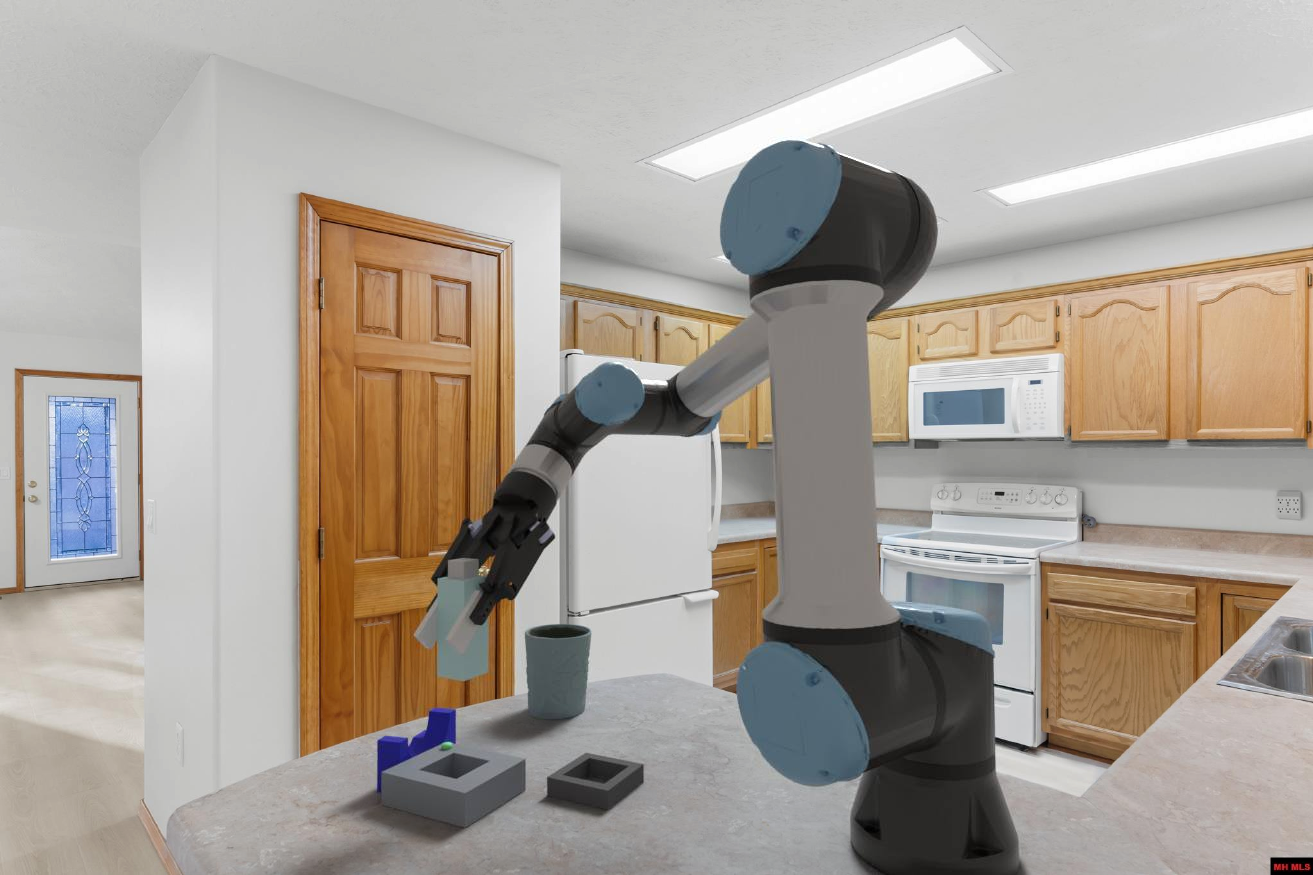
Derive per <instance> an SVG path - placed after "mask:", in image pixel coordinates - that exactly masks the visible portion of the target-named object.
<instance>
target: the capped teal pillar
mask: <svg viewBox="0 0 1313 875" xmlns="http://www.w3.org/2000/svg"><path fill="white" fill-rule="evenodd" d="M479 571H480V569H479V559H470V558H460V559H454V560H448V577H443V578H438V587H437V592H438V635H437V641H436V642H437V646H436V649H437V651H436V652H437V654H436V655H437V659H436V660H437V664H436V671H437V672H436V673H437V674H436V675H437V676H436V677H438V678H445V679H450V680H453V681H454V680H455V681H461V682H466V681H468V680H471V679H474V678H476V677H479V676H482V675H484V674H487V673H489V670H490V669H489V645H490V644H489V643H490V642H489V640H490V639H489V638H490V637H489V628H490V627H489V620H490V618H489V616H490V615H489V616H488V618H487V620H486V622H485V623H484V624H483V625H482V626H481V625H479V627H478V629H477V630H476V632H475V634H474V636H473V637H472V639H471V641H470V643H469V644H468V646H467V648H466V650H465V651H464V653H463V654H458V653H457V652H456V651H455V650H454V649H453V648H452V647H451V646H450V645H449V644H448V642H447V641H446V640H445V639H446V637H447V636H448V634H449V632H450V631H451V629H452V627H453V625H454V624H455V622H456V620H457V619H458V617H459V615H460V614H461V612H462V610H463V609H464V607H465V606H466V604H467V602H468V601H469V599H470V597H471V596H472V594H473V592H474V591H475V590H480V591H481V593H482V594H483V592H484V591H483V590H482V589H481V587H480V586H479V583H485V580H486V578H487V575H480V574H479ZM481 585H482V584H481Z"/></svg>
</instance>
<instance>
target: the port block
mask: <svg viewBox="0 0 1313 875" xmlns="http://www.w3.org/2000/svg"><path fill="white" fill-rule="evenodd" d="M526 764H527V763H526V758H524V757H519V756H514V755H509V754H504V753H499V752H495V751H491V750H490V751H489V750H485V749H481V748H476V747H471V746H467V745H462V744H457V743H456V744H454V743H451V742H445V743H442V744H441V745H439V746H436V747H434V748H432V749H430V750H428V751H426V752H424V753H421V754H419V755H417V756H415V757H413V758H411V759H408V760H406V761H404V762H402V763H400V764H398V765H396V766H393V767H391V768H389V769H387V770H385V771H383V772H381V792H380V796H381V799H380V800H381V801H380V802H381V806H385V807H390V808H393V809H397V810H400V811H403V812H407V813H410V814H413V815H417V816H421V817H425V818H428V819H433V820H436V821H439V822H443V823H447V824H450V825H453V826H457V827H459V828H464V829H466V828H467V827H469V826H471V825H473V824H474V823H475V822H477V821H479V820H480V819H482V818H483V817H485V816H487V815H488V814H489V813H491V812H493V811H495V810H496V809H498V808H500V807H501V806H503V805H505V804H506V803H508V802H509V801H510V800H512V799H514V798H515V797H517V796H518V795H520V794H521V793H524V792H525V791H526V787H527V786H526V784H527V781H526V780H527V779H526V776H527V774H526V766H527V765H526Z"/></svg>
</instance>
